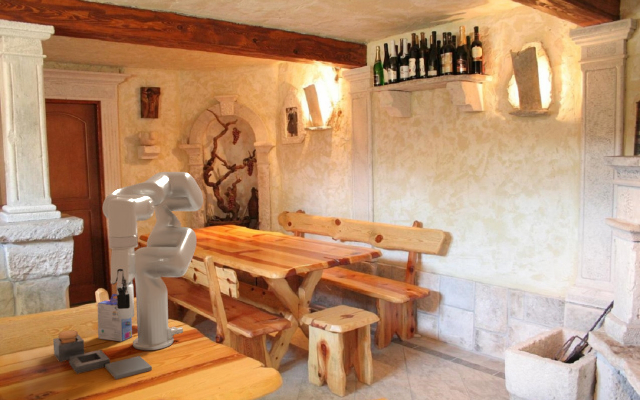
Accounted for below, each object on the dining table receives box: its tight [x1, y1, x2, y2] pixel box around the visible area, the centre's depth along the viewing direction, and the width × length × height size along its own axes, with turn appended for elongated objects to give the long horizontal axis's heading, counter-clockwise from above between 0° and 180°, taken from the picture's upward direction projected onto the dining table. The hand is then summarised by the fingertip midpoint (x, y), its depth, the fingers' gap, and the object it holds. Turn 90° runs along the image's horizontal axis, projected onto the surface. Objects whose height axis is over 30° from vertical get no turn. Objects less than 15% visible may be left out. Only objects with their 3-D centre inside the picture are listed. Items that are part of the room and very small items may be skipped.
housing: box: [53, 334, 85, 363], centre depth 164 cm, size 7×7×5 cm
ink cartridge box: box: [97, 293, 133, 342], centre depth 178 cm, size 10×6×14 cm, turn 72°
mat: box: [104, 355, 153, 380], centre depth 154 cm, size 10×10×1 cm
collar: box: [68, 349, 111, 375], centre depth 157 cm, size 9×9×2 cm
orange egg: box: [58, 330, 79, 343], centre depth 163 cm, size 5×5×6 cm
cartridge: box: [117, 283, 135, 319], centre depth 152 cm, size 4×4×9 cm
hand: (125, 305), depth 152 cm, fingers closed on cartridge, 4 cm apart
